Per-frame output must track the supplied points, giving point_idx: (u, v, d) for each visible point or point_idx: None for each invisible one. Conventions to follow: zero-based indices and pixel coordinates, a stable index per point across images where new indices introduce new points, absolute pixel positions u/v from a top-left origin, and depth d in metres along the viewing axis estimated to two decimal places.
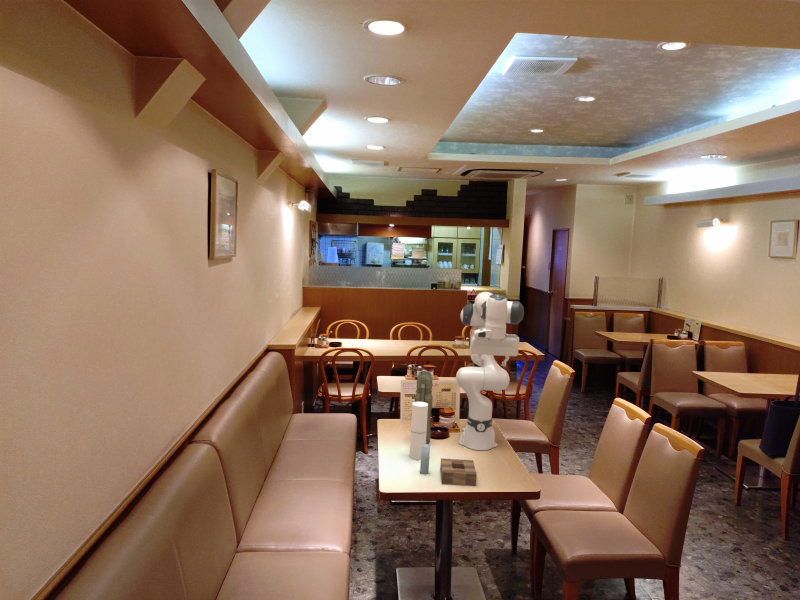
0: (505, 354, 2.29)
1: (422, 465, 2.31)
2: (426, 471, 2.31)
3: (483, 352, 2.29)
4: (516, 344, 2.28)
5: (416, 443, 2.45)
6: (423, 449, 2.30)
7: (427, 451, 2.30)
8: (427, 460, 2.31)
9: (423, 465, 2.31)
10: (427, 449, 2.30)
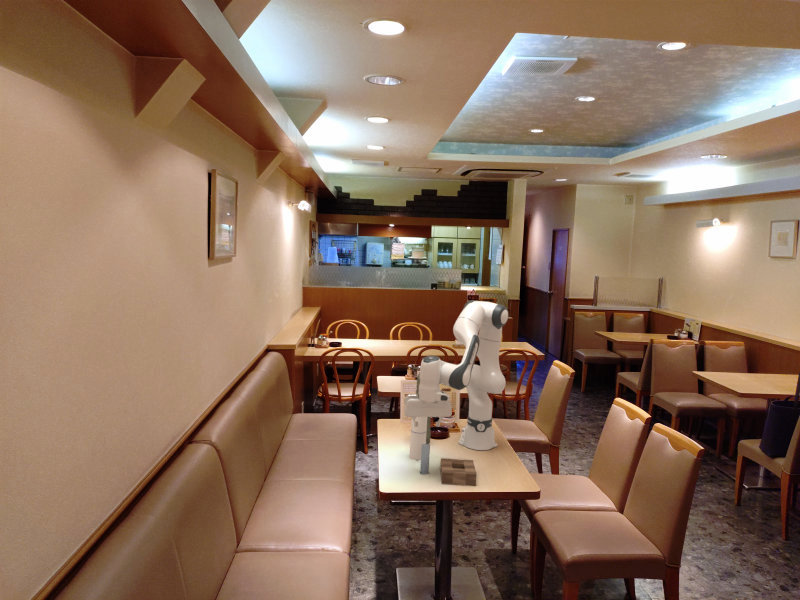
0: None
1: (422, 465, 2.31)
2: (426, 471, 2.31)
3: None
4: None
5: (416, 443, 2.45)
6: (423, 449, 2.30)
7: (427, 451, 2.30)
8: (427, 460, 2.31)
9: (423, 465, 2.31)
10: (427, 449, 2.30)
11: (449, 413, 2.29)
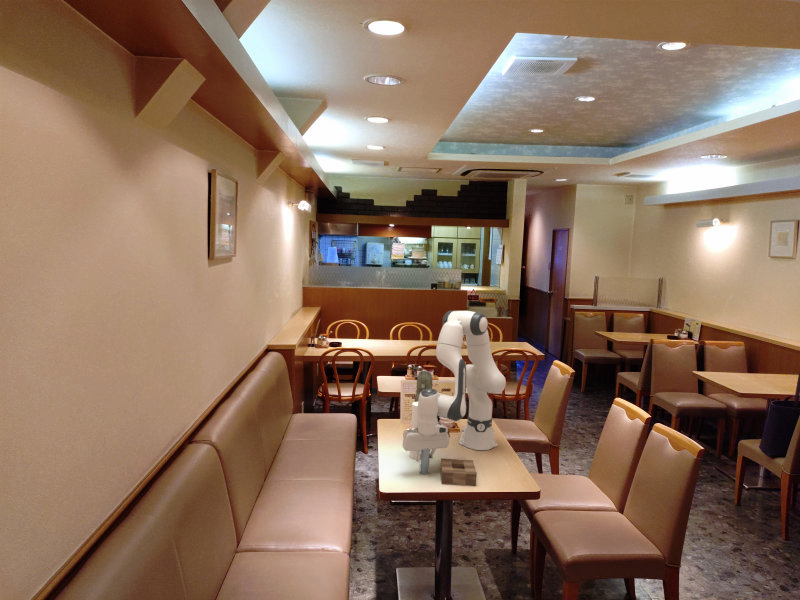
0: None
1: (422, 465, 2.31)
2: (426, 471, 2.31)
3: None
4: None
5: None
6: None
7: (427, 451, 2.30)
8: (427, 460, 2.31)
9: (423, 465, 2.31)
10: (427, 449, 2.30)
11: (447, 444, 2.33)
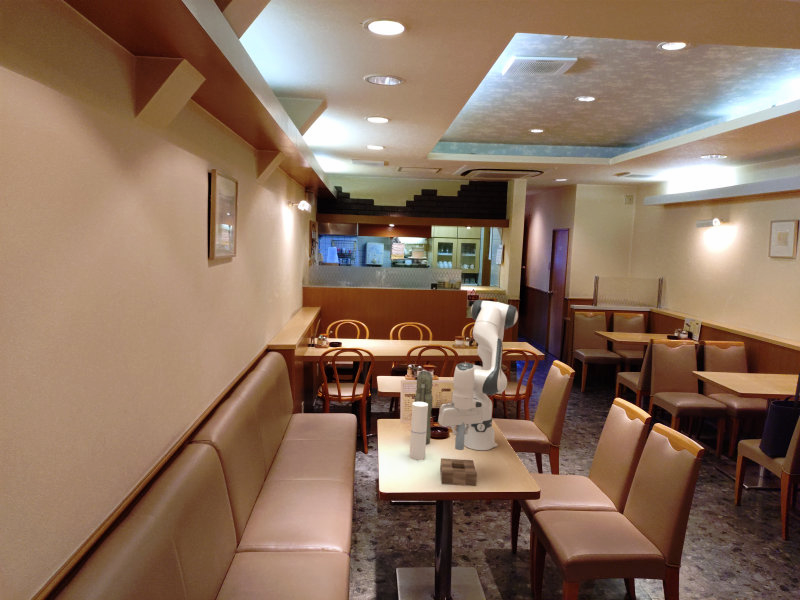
0: None
1: (458, 441, 2.26)
2: (462, 447, 2.27)
3: None
4: None
5: (416, 443, 2.45)
6: None
7: (463, 426, 2.26)
8: (463, 436, 2.26)
9: (459, 441, 2.26)
10: (463, 424, 2.25)
11: (482, 419, 2.29)
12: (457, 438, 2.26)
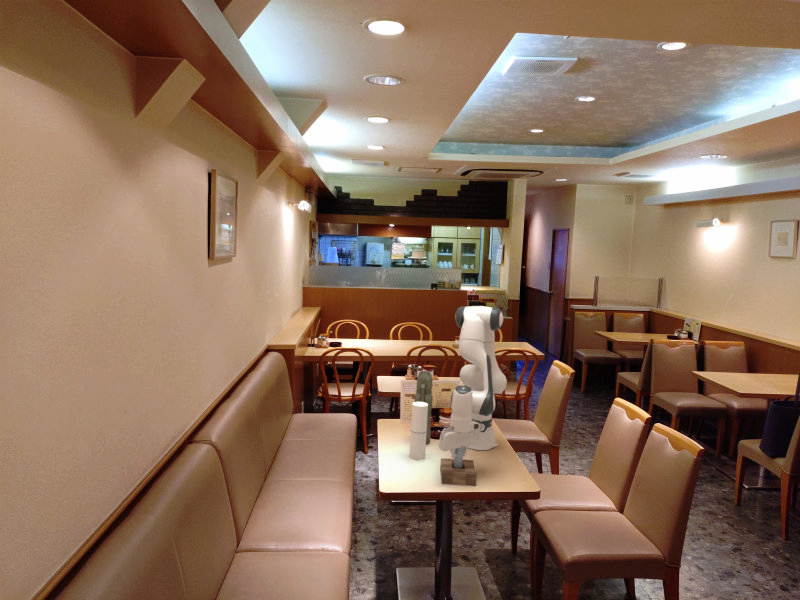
0: None
1: (457, 464, 2.27)
2: None
3: None
4: None
5: (416, 443, 2.45)
6: None
7: (462, 449, 2.27)
8: (462, 458, 2.28)
9: (458, 464, 2.27)
10: (462, 447, 2.27)
11: (478, 440, 2.32)
12: (456, 461, 2.27)
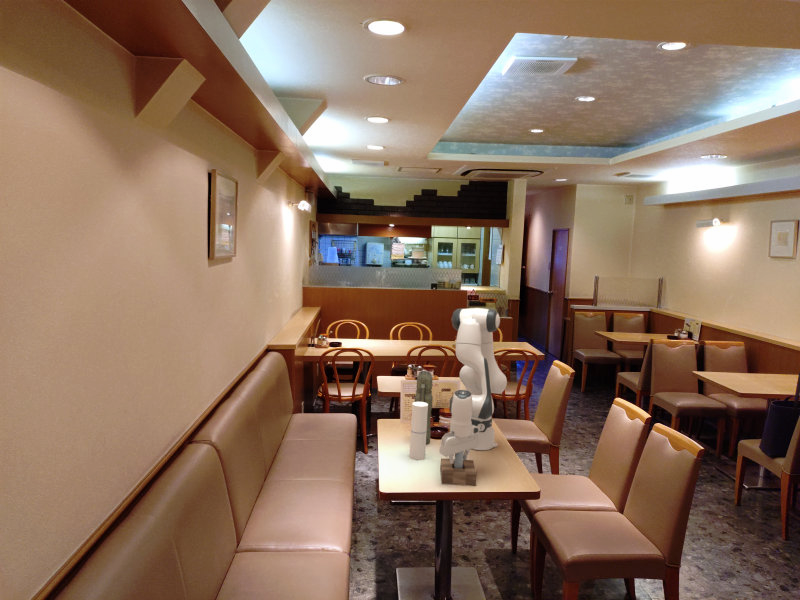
0: None
1: None
2: None
3: None
4: None
5: (416, 443, 2.45)
6: (458, 454, 2.27)
7: (462, 455, 2.27)
8: (462, 465, 2.28)
9: None
10: (462, 453, 2.27)
11: (477, 443, 2.32)
12: None
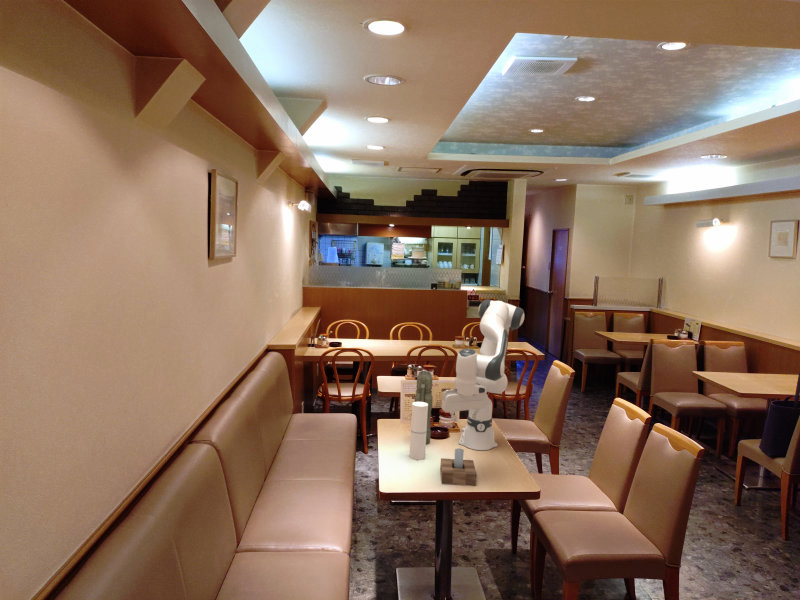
0: None
1: None
2: None
3: None
4: None
5: (416, 443, 2.45)
6: (458, 454, 2.27)
7: (462, 455, 2.27)
8: (462, 465, 2.28)
9: None
10: (462, 453, 2.27)
11: (486, 404, 2.30)
12: None
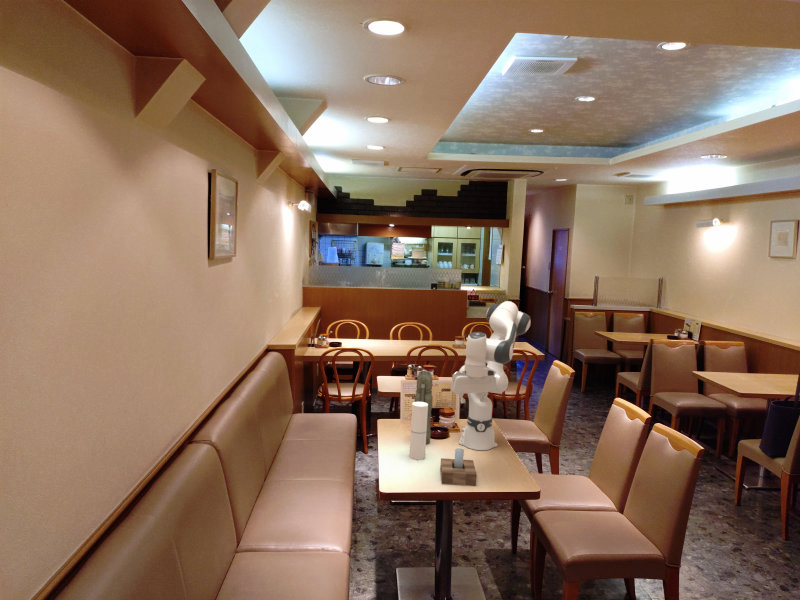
0: None
1: None
2: None
3: None
4: None
5: (416, 443, 2.45)
6: (458, 454, 2.27)
7: (462, 455, 2.27)
8: (462, 465, 2.28)
9: None
10: (462, 453, 2.27)
11: (494, 388, 2.33)
12: None
